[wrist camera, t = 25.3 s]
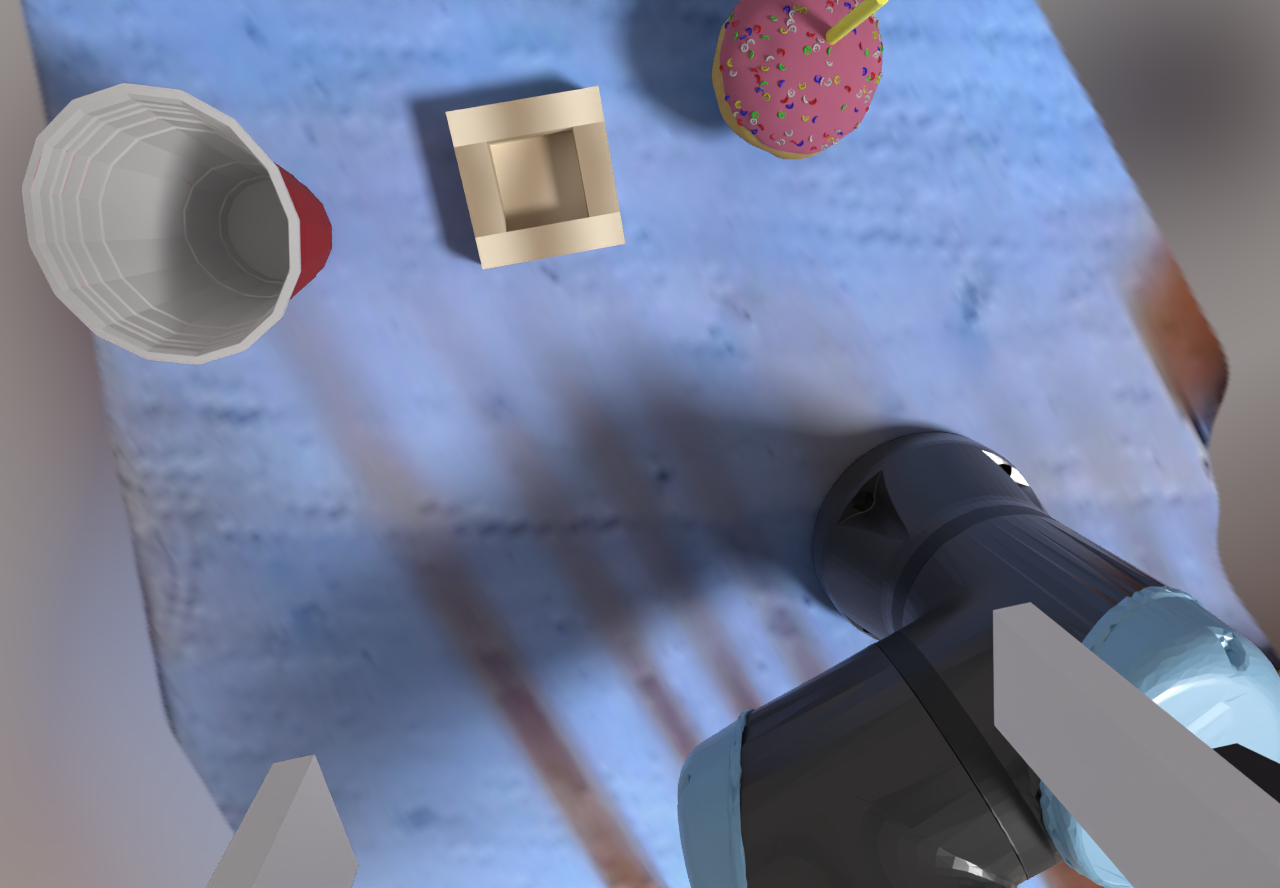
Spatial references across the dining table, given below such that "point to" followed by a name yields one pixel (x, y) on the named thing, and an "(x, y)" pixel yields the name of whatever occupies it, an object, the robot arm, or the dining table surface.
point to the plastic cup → (168, 224)
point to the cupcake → (797, 72)
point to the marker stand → (537, 176)
